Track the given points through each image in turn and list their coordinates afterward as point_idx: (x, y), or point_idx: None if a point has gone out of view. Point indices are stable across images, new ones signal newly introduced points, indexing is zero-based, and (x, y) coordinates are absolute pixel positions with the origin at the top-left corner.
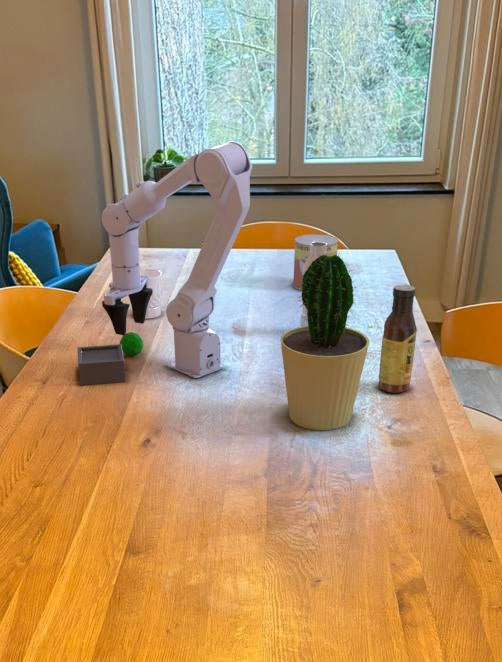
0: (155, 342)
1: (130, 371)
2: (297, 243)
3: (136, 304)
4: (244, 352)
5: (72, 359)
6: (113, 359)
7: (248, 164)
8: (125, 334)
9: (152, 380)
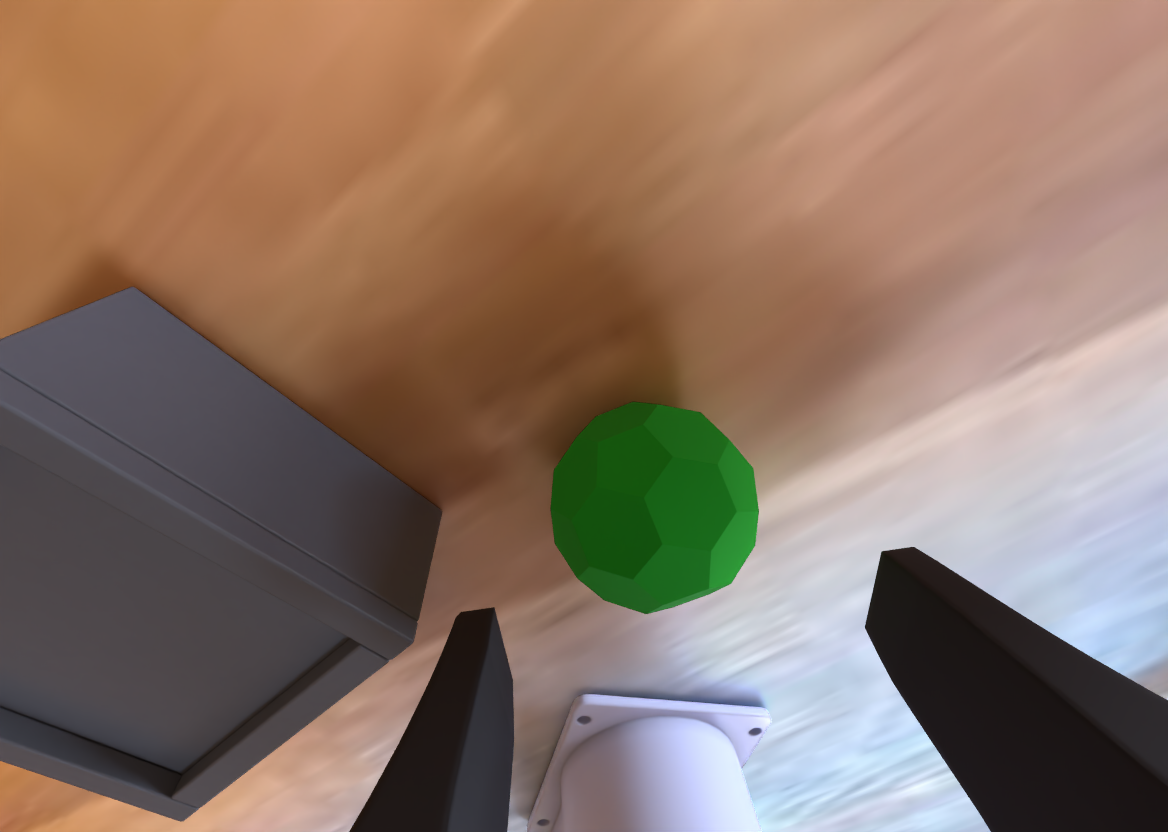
0: (917, 437)
1: None
2: None
3: (1078, 818)
4: (894, 795)
5: (205, 42)
6: (173, 723)
7: None
8: (650, 530)
9: (387, 732)
